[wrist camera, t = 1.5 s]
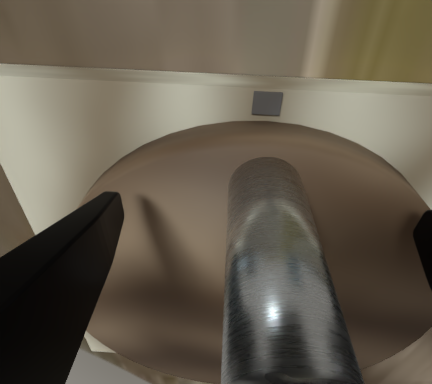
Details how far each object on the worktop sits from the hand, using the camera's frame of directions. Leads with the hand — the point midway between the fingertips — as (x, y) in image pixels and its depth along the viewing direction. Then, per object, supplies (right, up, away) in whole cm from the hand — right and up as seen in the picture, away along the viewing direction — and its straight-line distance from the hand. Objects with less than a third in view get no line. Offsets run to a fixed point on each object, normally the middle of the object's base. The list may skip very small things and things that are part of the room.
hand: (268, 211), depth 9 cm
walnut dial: (0, -4, +7) cm, 8 cm away
